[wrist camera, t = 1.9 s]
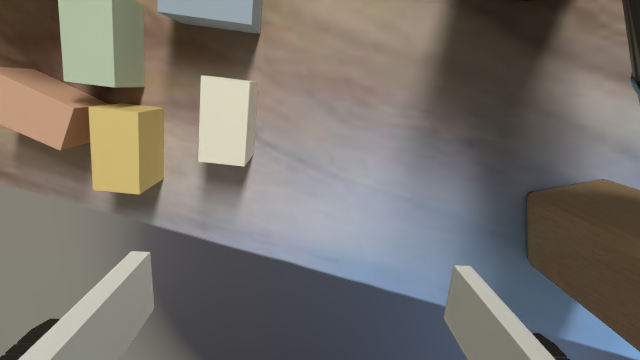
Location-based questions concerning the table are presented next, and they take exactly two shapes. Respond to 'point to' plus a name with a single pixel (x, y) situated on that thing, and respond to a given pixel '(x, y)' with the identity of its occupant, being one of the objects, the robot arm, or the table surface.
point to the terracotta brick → (45, 108)
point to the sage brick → (102, 42)
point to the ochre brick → (126, 147)
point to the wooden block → (591, 248)
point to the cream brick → (227, 120)
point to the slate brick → (216, 13)
